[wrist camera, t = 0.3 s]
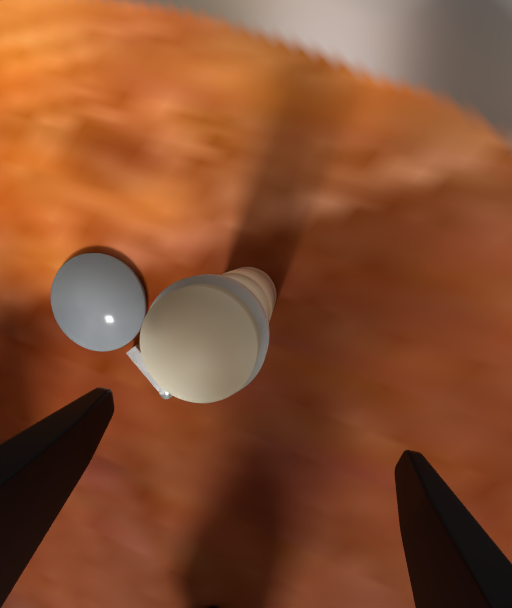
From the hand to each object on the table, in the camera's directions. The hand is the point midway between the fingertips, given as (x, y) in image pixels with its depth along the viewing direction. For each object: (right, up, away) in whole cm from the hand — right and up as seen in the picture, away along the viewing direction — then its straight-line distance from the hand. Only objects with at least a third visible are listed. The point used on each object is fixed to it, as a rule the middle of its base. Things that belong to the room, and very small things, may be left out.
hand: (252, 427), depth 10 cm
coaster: (-13, +4, +16) cm, 21 cm away
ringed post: (0, +4, +15) cm, 15 cm away
